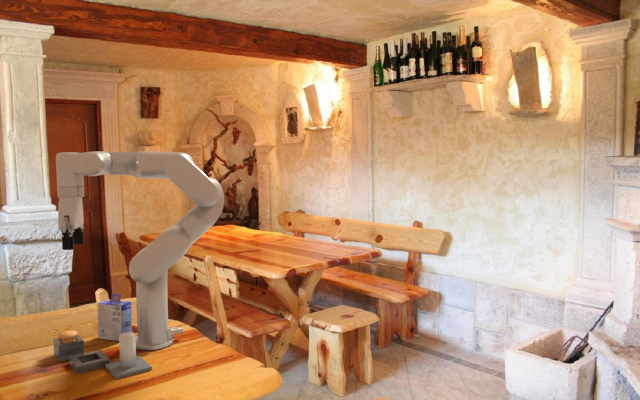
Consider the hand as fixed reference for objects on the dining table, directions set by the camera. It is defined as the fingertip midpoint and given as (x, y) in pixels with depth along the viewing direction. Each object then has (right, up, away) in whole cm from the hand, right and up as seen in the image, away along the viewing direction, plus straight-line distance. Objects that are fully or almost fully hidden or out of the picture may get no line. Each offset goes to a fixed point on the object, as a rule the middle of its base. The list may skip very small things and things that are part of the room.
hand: (73, 246), depth 168 cm
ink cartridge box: (+9, -32, +11) cm, 35 cm away
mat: (+22, -34, -14) cm, 43 cm away
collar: (+10, -34, -11) cm, 36 cm away
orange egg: (+1, -32, -4) cm, 32 cm away
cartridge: (+22, -33, -14) cm, 42 cm away
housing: (0, -33, -4) cm, 33 cm away
